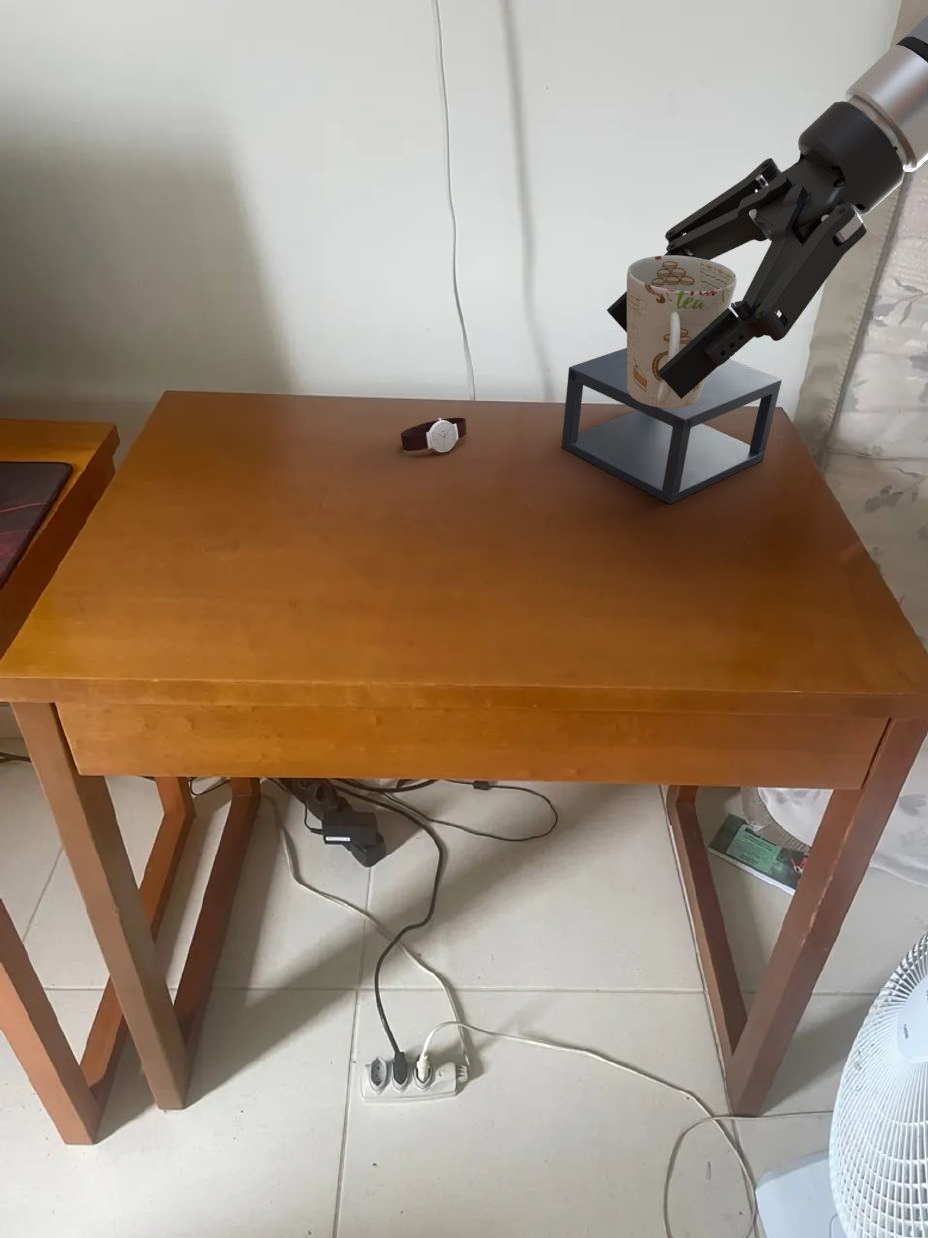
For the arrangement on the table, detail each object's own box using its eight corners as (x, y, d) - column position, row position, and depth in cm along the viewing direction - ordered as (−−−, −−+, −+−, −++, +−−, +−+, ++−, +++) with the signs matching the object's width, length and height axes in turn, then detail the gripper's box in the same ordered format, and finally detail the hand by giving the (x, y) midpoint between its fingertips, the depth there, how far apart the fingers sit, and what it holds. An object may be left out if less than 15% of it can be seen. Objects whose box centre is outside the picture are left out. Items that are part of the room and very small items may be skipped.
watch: (415, 464, 100) (415, 431, 98) (390, 446, 103) (390, 414, 101) (476, 445, 104) (477, 413, 102) (450, 428, 107) (451, 397, 105)
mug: (710, 375, 85) (732, 258, 79) (721, 444, 75) (747, 316, 69) (613, 368, 86) (627, 252, 79) (611, 435, 76) (627, 308, 70)
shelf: (763, 460, 103) (782, 379, 98) (669, 504, 95) (684, 419, 90) (654, 410, 112) (666, 333, 107) (560, 447, 104) (568, 366, 99)
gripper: (995, 223, 63) (726, 452, 70) (821, 139, 82) (622, 326, 89) (947, 133, 59) (666, 386, 66) (775, 67, 78) (571, 269, 85)
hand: (641, 352), depth 77 cm, fingers closed on mug, 12 cm apart
